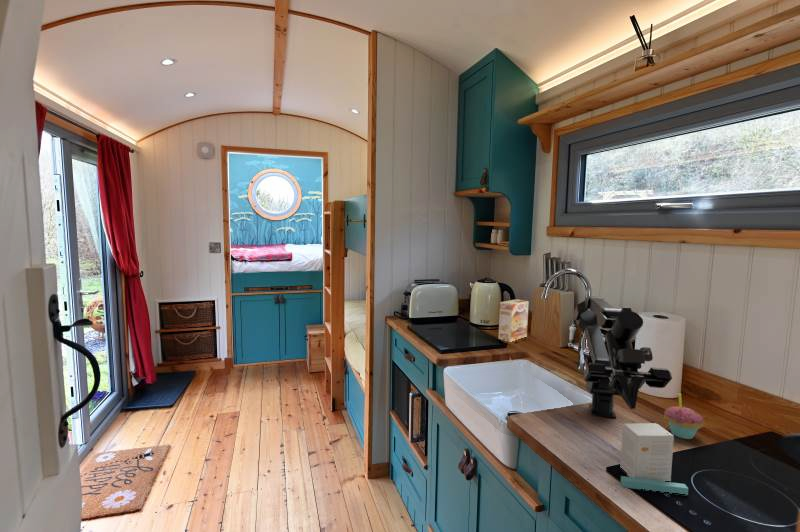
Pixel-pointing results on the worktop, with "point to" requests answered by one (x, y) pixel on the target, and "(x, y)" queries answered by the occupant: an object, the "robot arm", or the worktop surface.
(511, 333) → the coffeecake box
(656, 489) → the teal batten
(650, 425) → the small box
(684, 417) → the cupcake
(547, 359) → the worktop surface
